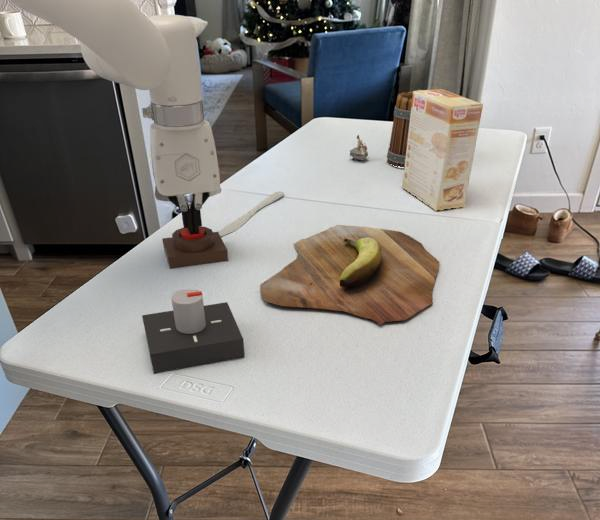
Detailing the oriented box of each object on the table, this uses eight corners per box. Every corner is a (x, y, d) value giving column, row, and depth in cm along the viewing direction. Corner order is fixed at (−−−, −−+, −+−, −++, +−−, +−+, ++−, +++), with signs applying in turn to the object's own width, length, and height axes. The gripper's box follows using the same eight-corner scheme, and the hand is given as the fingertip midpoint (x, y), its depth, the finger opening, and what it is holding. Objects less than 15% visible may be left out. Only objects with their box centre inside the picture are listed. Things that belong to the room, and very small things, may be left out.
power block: (170, 269, 97) (166, 247, 94) (164, 250, 103) (160, 228, 100) (228, 261, 99) (226, 239, 97) (219, 243, 105) (217, 221, 103)
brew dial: (178, 336, 75) (173, 303, 72) (174, 320, 78) (169, 289, 75) (208, 331, 76) (204, 299, 73) (203, 316, 79) (199, 284, 76)
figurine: (346, 158, 145) (347, 132, 141) (361, 156, 146) (363, 130, 142) (356, 164, 141) (358, 138, 137) (372, 162, 142) (374, 136, 139)
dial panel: (153, 373, 74) (149, 353, 72) (145, 333, 81) (141, 314, 80) (244, 357, 77) (243, 337, 75) (228, 320, 84) (227, 300, 82)
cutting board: (427, 334, 81) (431, 311, 79) (244, 308, 87) (243, 285, 84) (447, 236, 107) (450, 216, 105) (305, 221, 113) (305, 201, 111)
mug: (426, 172, 136) (435, 102, 127) (382, 167, 139) (388, 98, 129) (435, 153, 148) (445, 88, 138) (395, 149, 150) (401, 85, 141)
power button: (183, 246, 97) (182, 237, 96) (180, 237, 100) (179, 227, 99) (207, 243, 98) (206, 234, 97) (203, 234, 101) (202, 225, 100)
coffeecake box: (465, 207, 119) (485, 103, 106) (435, 212, 117) (451, 106, 104) (429, 184, 130) (442, 87, 117) (400, 188, 128) (411, 90, 115)
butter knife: (289, 192, 124) (277, 189, 125) (219, 240, 105) (205, 236, 106) (289, 195, 124) (277, 192, 125) (219, 243, 106) (205, 239, 107)
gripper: (129, 124, 82) (151, 245, 94) (232, 115, 86) (241, 233, 97) (125, 112, 88) (146, 228, 99) (222, 104, 91) (231, 217, 103)
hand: (193, 230), depth 98 cm, fingers closed
